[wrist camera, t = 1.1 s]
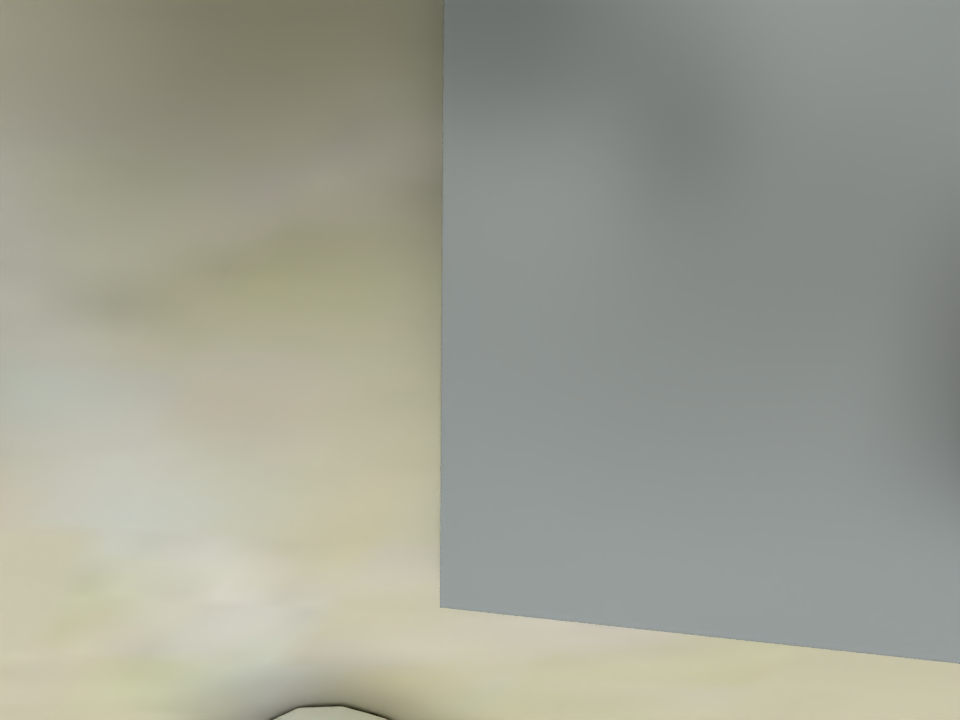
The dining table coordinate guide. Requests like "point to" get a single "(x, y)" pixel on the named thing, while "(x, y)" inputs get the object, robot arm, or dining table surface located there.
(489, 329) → the switch board
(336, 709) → the white cup
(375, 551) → the dining table surface
